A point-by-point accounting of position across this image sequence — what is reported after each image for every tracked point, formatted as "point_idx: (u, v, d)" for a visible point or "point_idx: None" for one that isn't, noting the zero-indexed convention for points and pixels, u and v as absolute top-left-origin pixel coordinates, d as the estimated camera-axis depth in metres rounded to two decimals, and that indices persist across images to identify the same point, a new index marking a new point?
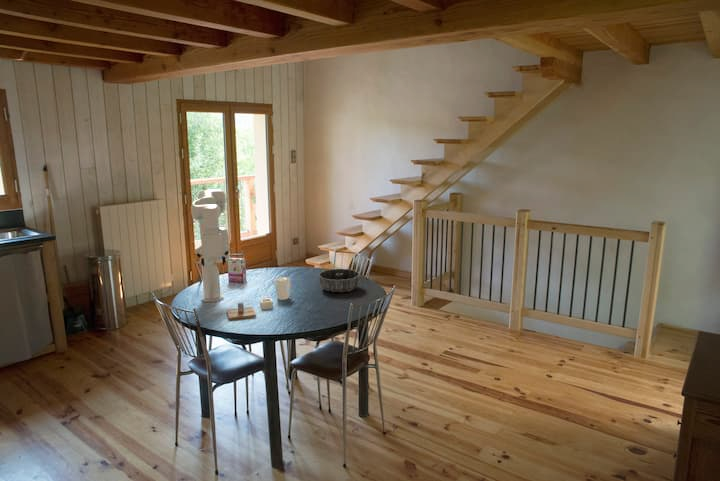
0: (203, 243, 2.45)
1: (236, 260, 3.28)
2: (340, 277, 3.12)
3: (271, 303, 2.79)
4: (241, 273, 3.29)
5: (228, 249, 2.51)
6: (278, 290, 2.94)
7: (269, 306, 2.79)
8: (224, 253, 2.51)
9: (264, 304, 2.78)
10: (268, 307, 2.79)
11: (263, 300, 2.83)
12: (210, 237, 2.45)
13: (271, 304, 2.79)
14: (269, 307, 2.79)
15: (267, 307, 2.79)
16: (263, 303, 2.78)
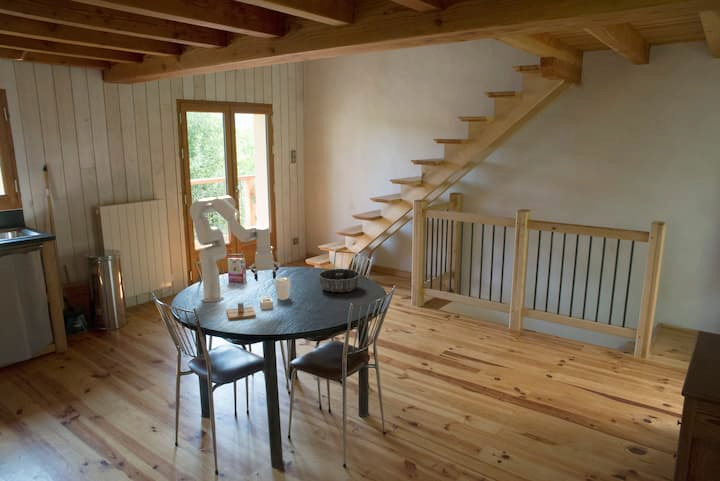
0: (257, 260, 2.73)
1: (236, 260, 3.28)
2: (340, 277, 3.12)
3: (271, 303, 2.79)
4: (241, 273, 3.29)
5: (278, 265, 2.79)
6: (278, 290, 2.94)
7: (269, 306, 2.79)
8: (275, 269, 2.80)
9: (264, 304, 2.78)
10: (268, 307, 2.79)
11: (263, 300, 2.83)
12: (263, 255, 2.74)
13: (271, 304, 2.79)
14: (269, 307, 2.79)
15: (267, 307, 2.79)
16: (263, 303, 2.78)
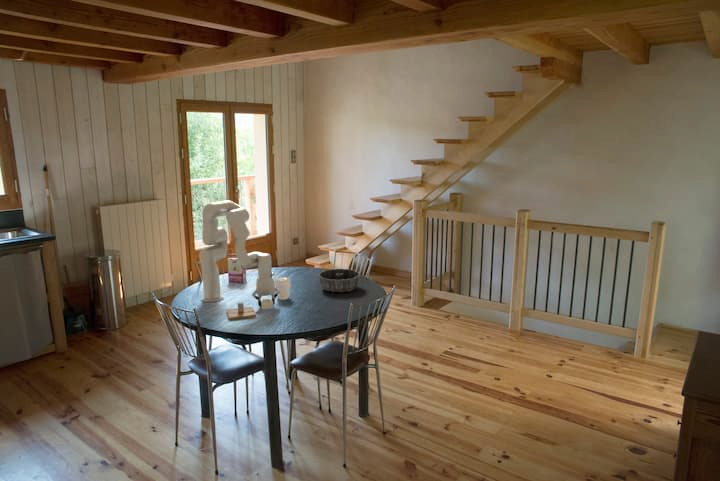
0: (258, 286, 2.76)
1: (236, 260, 3.28)
2: (340, 277, 3.12)
3: (271, 303, 2.79)
4: (241, 273, 3.29)
5: (278, 292, 2.82)
6: None
7: (269, 306, 2.79)
8: None
9: (264, 304, 2.78)
10: (268, 307, 2.79)
11: (263, 300, 2.83)
12: (264, 281, 2.76)
13: (271, 304, 2.79)
14: (269, 307, 2.79)
15: (267, 307, 2.79)
16: (263, 303, 2.78)
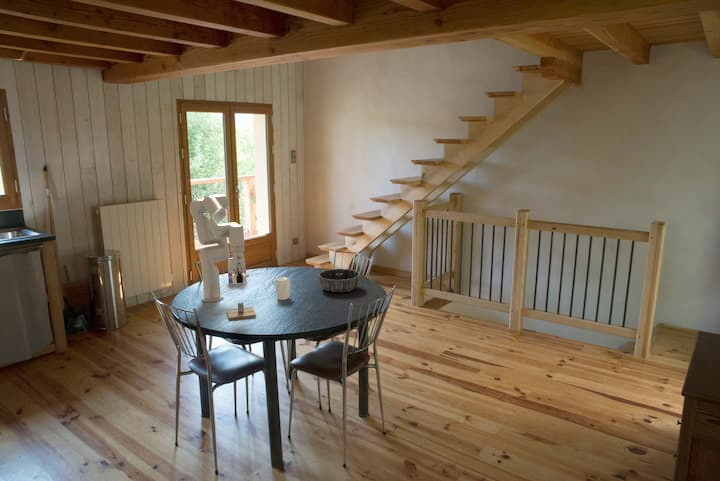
0: None
1: None
2: (340, 277, 3.12)
3: (233, 278, 2.62)
4: None
5: (238, 270, 2.58)
6: (278, 290, 2.94)
7: (233, 281, 2.64)
8: None
9: (232, 277, 2.66)
10: None
11: (243, 275, 2.68)
12: (232, 253, 2.63)
13: (233, 279, 2.63)
14: (233, 282, 2.64)
15: None
16: (232, 275, 2.67)
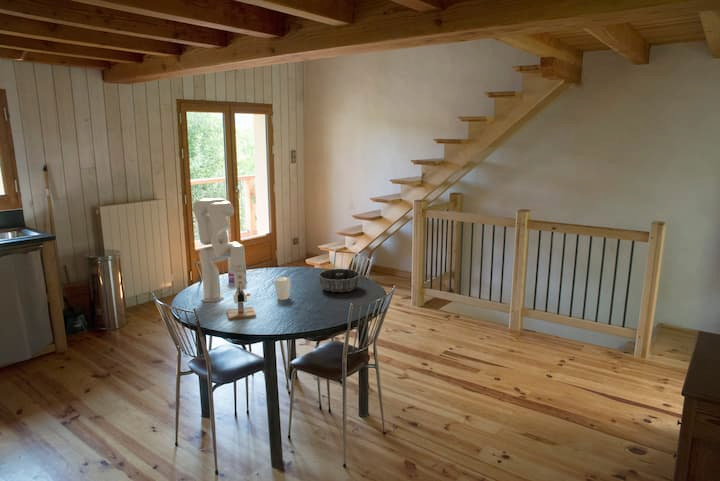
0: None
1: None
2: (340, 277, 3.12)
3: (234, 297, 2.64)
4: None
5: (239, 290, 2.60)
6: (278, 290, 2.94)
7: (234, 299, 2.66)
8: None
9: (233, 295, 2.68)
10: (234, 300, 2.67)
11: (244, 293, 2.70)
12: None
13: (234, 298, 2.65)
14: (234, 301, 2.66)
15: (234, 299, 2.67)
16: (233, 294, 2.68)
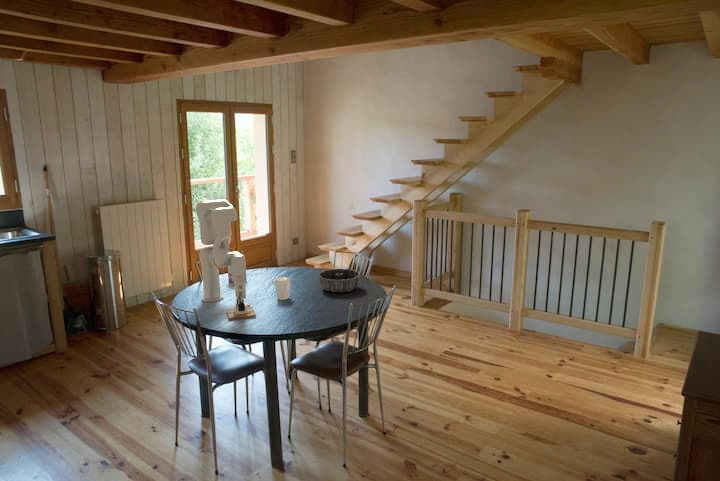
0: None
1: None
2: (340, 277, 3.12)
3: (234, 309, 2.66)
4: None
5: (240, 299, 2.60)
6: (278, 290, 2.94)
7: (234, 311, 2.67)
8: None
9: None
10: (234, 311, 2.68)
11: None
12: (234, 282, 2.66)
13: (234, 310, 2.66)
14: None
15: (234, 310, 2.68)
16: None
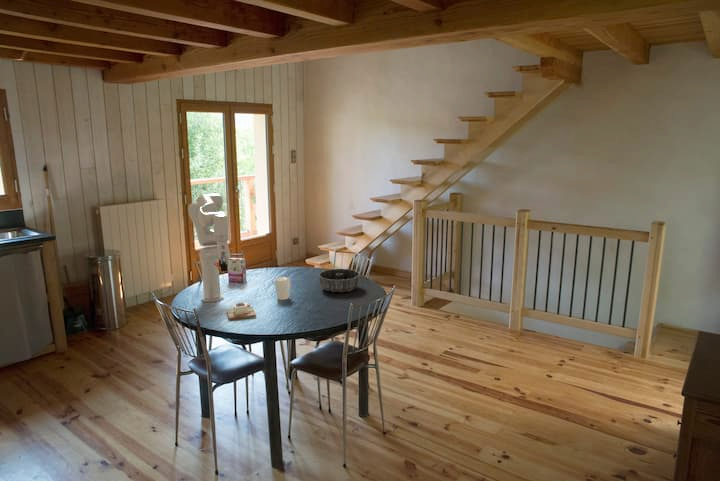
0: None
1: (236, 260, 3.28)
2: (340, 277, 3.12)
3: (234, 309, 2.66)
4: (241, 273, 3.29)
5: (222, 258, 2.60)
6: (278, 290, 2.94)
7: (234, 311, 2.67)
8: None
9: None
10: (234, 311, 2.68)
11: (244, 304, 2.71)
12: None
13: (234, 310, 2.66)
14: None
15: (234, 310, 2.68)
16: None
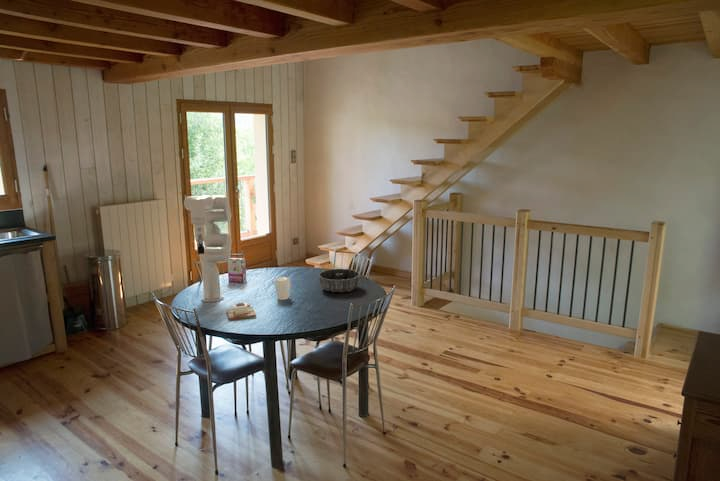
0: None
1: (236, 260, 3.28)
2: (340, 277, 3.12)
3: (234, 309, 2.66)
4: (241, 273, 3.29)
5: (199, 240, 2.63)
6: (278, 290, 2.94)
7: (234, 311, 2.67)
8: None
9: None
10: (234, 311, 2.68)
11: (244, 304, 2.71)
12: None
13: (234, 310, 2.66)
14: None
15: (234, 310, 2.68)
16: None
